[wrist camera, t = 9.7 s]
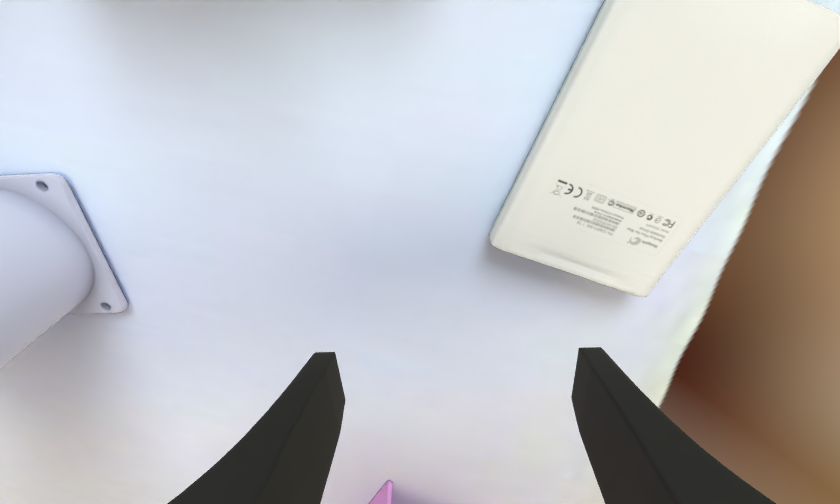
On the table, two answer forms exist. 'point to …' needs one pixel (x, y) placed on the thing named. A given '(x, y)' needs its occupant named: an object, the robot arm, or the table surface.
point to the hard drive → (658, 130)
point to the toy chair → (383, 494)
